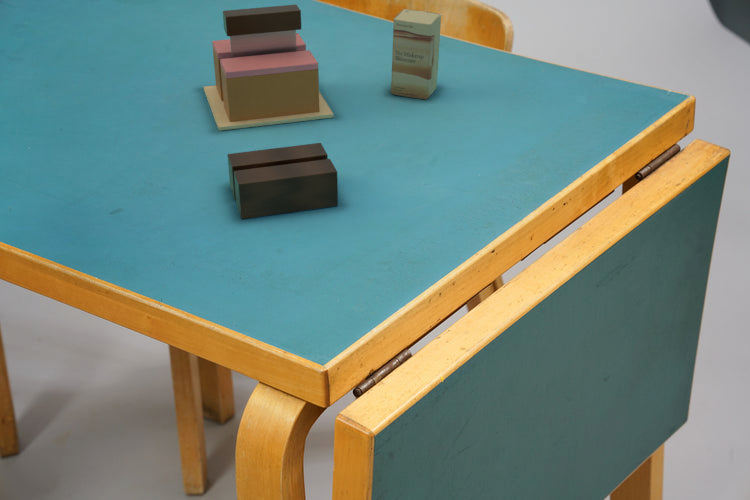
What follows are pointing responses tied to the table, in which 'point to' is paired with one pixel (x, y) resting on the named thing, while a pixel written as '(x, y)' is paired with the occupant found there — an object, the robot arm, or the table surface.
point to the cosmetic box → (415, 53)
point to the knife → (262, 30)
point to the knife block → (282, 180)
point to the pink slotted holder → (265, 88)
